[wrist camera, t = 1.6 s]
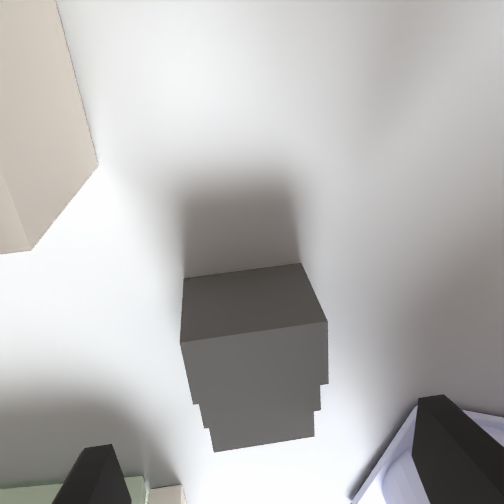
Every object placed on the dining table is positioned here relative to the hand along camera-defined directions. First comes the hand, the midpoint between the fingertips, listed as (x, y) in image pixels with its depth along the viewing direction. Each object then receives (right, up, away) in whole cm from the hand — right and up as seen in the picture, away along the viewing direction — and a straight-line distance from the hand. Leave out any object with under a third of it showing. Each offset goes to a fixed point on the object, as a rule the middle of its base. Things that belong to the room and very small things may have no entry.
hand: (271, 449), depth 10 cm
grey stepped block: (0, +1, +8) cm, 8 cm away
